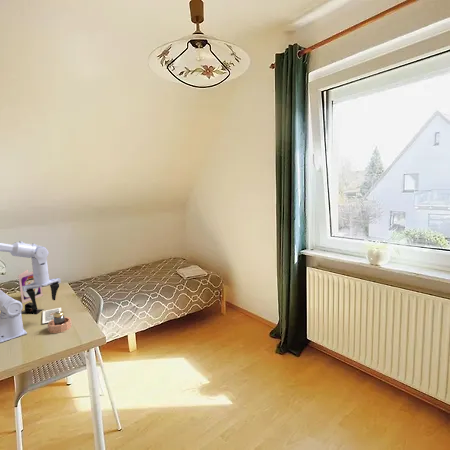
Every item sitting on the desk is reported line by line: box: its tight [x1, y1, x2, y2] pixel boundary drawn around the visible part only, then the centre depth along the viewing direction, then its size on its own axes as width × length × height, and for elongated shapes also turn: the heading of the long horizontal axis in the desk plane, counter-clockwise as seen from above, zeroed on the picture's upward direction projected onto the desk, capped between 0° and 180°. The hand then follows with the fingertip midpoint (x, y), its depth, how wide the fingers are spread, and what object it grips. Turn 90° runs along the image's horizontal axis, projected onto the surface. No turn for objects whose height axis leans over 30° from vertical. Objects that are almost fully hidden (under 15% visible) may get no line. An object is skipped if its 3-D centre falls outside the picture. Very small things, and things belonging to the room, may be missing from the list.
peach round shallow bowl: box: [47, 316, 73, 334], centre depth 135 cm, size 9×9×3 cm
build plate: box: [21, 301, 45, 315], centre depth 153 cm, size 12×7×5 cm, turn 83°
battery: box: [53, 310, 65, 325], centre depth 134 cm, size 4×4×7 cm
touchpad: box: [42, 307, 62, 324], centre depth 147 cm, size 8×15×2 cm, turn 29°
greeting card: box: [18, 269, 44, 304], centre depth 168 cm, size 11×7×15 cm, turn 155°
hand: (44, 302), depth 139 cm, fingers open, 7 cm apart
